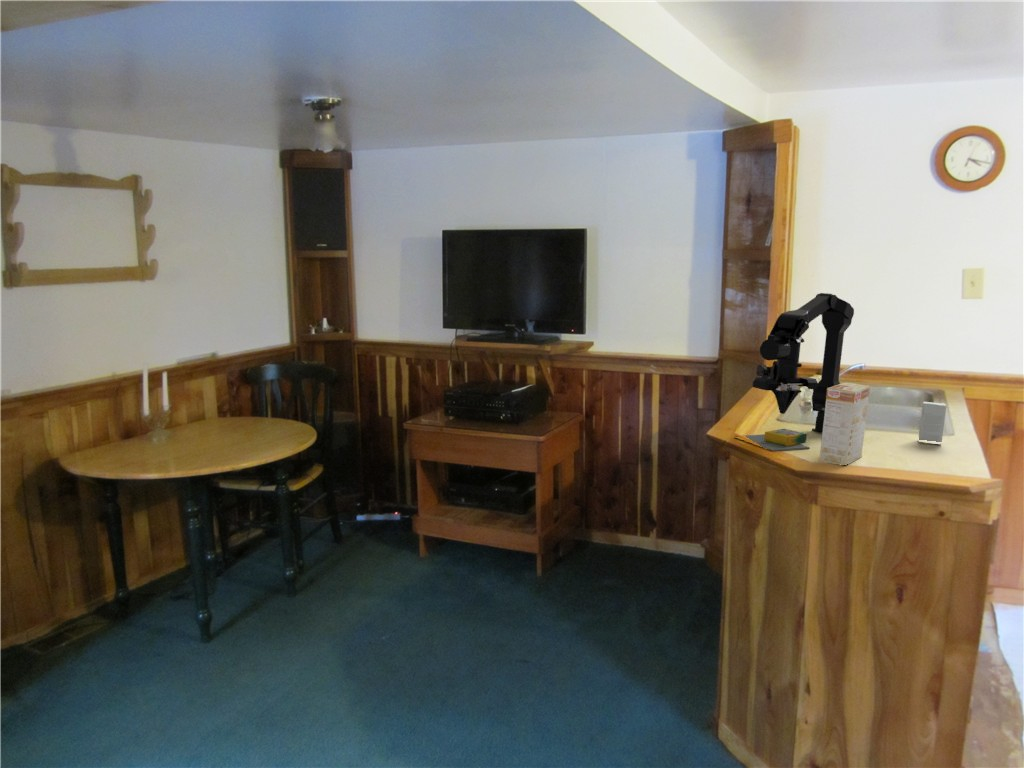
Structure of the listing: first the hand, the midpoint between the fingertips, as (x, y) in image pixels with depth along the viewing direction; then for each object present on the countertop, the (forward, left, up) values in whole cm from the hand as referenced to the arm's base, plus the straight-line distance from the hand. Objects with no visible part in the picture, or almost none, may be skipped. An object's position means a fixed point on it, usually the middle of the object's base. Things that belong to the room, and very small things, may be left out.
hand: (782, 413), depth 217 cm
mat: (+3, 0, -8) cm, 9 cm away
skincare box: (-48, +10, -9) cm, 50 cm away
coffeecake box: (-4, +19, -9) cm, 21 cm away
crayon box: (-5, 0, -6) cm, 8 cm away
